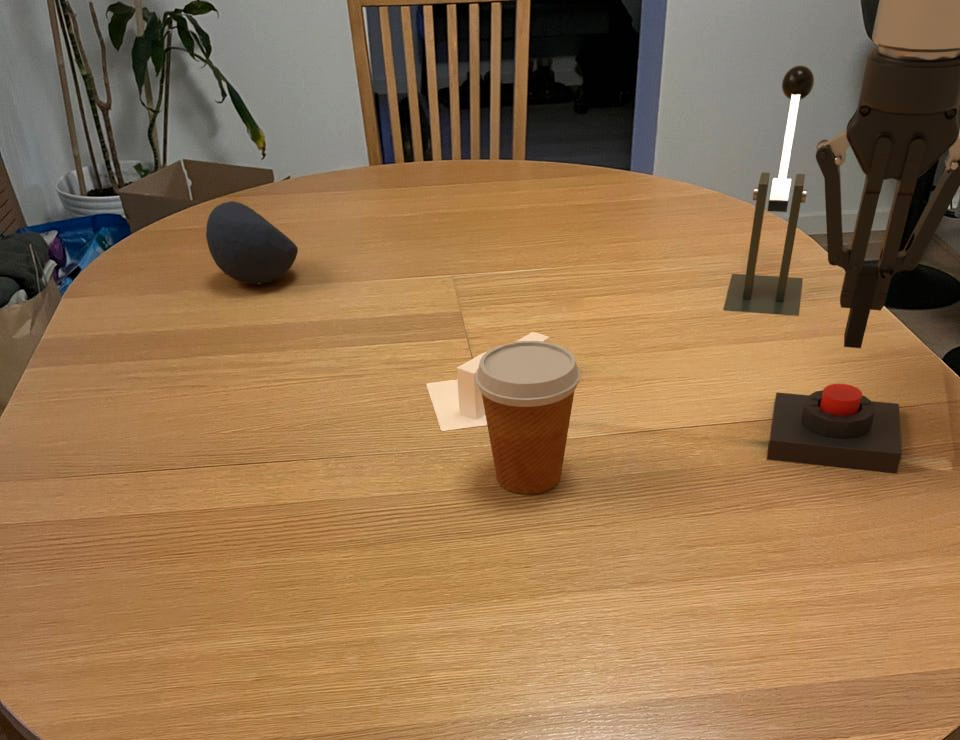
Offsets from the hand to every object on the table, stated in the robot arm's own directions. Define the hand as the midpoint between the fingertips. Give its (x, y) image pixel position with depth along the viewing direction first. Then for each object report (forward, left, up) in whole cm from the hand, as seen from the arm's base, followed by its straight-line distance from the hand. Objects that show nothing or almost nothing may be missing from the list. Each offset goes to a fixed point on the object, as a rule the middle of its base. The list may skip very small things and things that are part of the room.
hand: (852, 341), depth 89 cm
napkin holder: (+35, -2, -11) cm, 37 cm away
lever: (+9, -40, +6) cm, 41 cm away
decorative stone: (+77, -28, -11) cm, 83 cm away
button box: (0, 0, -11) cm, 11 cm away
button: (0, 0, -7) cm, 7 cm away
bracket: (+9, -33, -11) cm, 36 cm away
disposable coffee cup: (+28, +13, -11) cm, 33 cm away
